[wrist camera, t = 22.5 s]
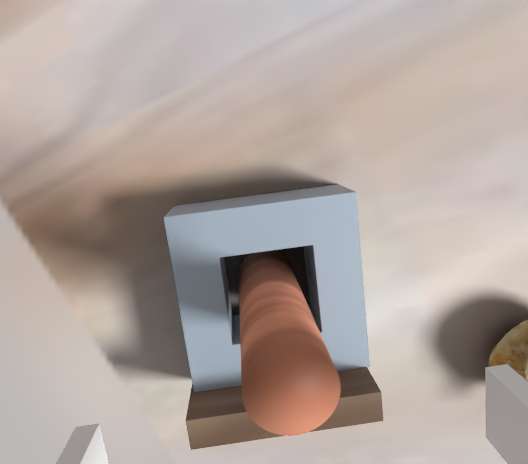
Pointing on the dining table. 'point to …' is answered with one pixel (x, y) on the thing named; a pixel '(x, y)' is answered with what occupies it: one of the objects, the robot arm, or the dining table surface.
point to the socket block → (259, 240)
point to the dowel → (282, 350)
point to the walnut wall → (245, 429)
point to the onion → (513, 350)
